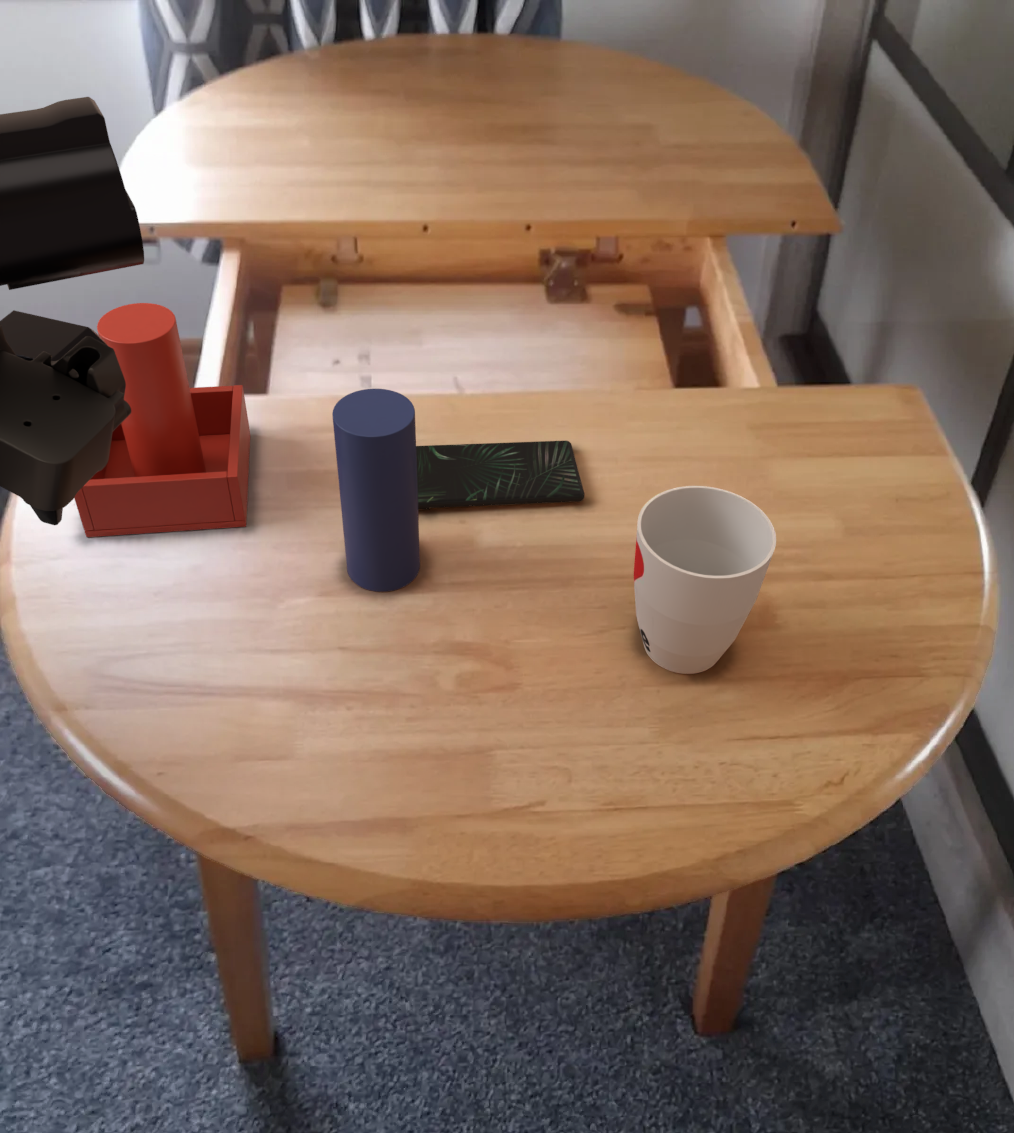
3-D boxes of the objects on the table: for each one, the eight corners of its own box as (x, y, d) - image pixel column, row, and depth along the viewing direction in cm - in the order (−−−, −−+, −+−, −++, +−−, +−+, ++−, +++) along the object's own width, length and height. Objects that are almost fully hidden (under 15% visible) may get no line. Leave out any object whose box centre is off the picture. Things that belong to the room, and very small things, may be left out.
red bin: (86, 537, 78) (70, 486, 75) (104, 442, 86) (91, 392, 83) (246, 526, 79) (237, 476, 76) (250, 433, 87) (242, 384, 84)
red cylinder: (151, 507, 80) (113, 351, 71) (126, 470, 83) (85, 315, 74) (217, 483, 82) (187, 328, 73) (189, 447, 85) (158, 295, 76)
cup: (652, 584, 76) (672, 469, 69) (764, 630, 73) (796, 516, 67) (598, 659, 71) (613, 543, 64) (716, 712, 68) (745, 597, 61)
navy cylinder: (334, 581, 76) (318, 425, 67) (365, 535, 79) (353, 381, 70) (403, 599, 75) (395, 444, 66) (430, 552, 78) (427, 398, 69)
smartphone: (585, 495, 81) (379, 504, 80) (584, 505, 82) (379, 514, 80) (570, 438, 86) (375, 445, 85) (569, 448, 87) (376, 456, 85)
